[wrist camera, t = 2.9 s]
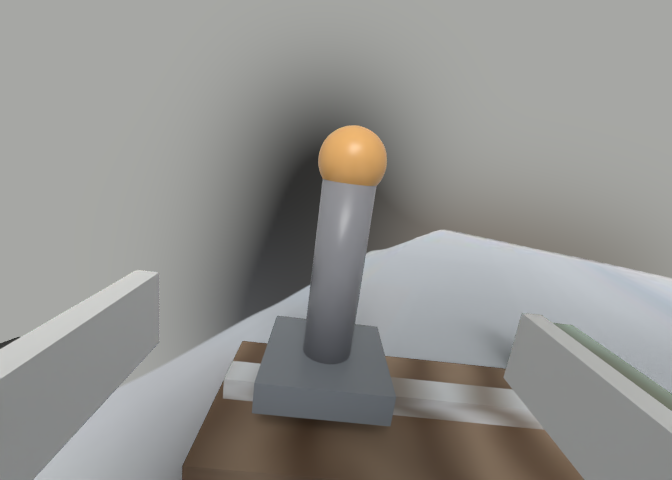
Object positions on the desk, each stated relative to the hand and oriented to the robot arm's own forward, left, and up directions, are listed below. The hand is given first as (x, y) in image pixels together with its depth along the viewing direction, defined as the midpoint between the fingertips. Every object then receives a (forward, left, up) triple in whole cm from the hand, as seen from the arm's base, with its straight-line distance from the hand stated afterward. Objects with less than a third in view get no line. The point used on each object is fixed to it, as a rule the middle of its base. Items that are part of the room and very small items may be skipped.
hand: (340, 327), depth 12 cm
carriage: (0, -9, -10) cm, 13 cm away
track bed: (-8, -9, -12) cm, 17 cm away
